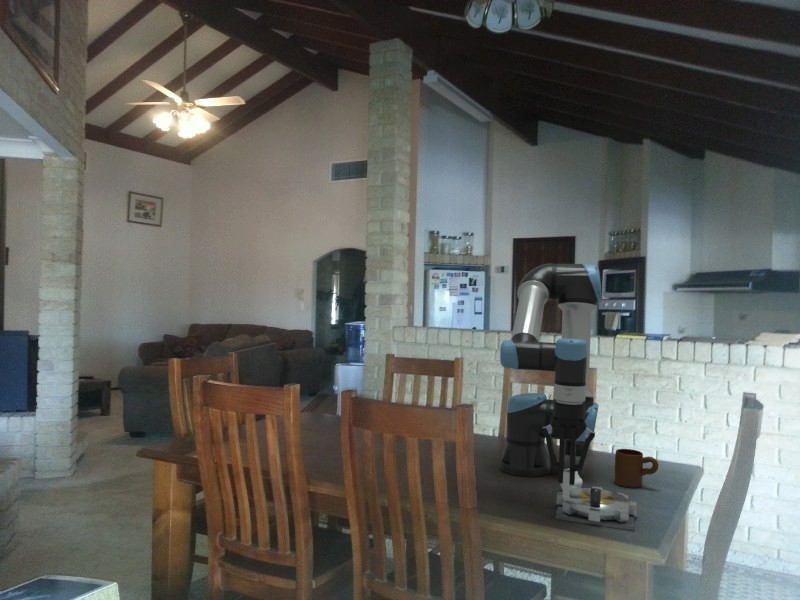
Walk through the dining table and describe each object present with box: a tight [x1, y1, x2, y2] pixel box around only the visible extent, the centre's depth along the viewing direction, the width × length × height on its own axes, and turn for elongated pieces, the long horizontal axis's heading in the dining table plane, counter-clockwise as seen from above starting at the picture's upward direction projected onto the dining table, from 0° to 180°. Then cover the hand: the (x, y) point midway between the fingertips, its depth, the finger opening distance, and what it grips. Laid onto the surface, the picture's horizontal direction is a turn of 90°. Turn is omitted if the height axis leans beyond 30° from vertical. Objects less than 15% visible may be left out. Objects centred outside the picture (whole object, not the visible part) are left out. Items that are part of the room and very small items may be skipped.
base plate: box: [554, 504, 636, 532], centre depth 154 cm, size 18×18×1 cm
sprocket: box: [555, 486, 638, 522], centre depth 154 cm, size 19×19×6 cm
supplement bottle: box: [565, 440, 585, 457], centre depth 210 cm, size 7×7×12 cm
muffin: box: [559, 471, 583, 490], centre depth 168 cm, size 6×6×7 cm
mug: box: [614, 448, 659, 489], centre depth 176 cm, size 12×8×9 cm, turn 50°
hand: (566, 496), depth 151 cm, fingers closed
